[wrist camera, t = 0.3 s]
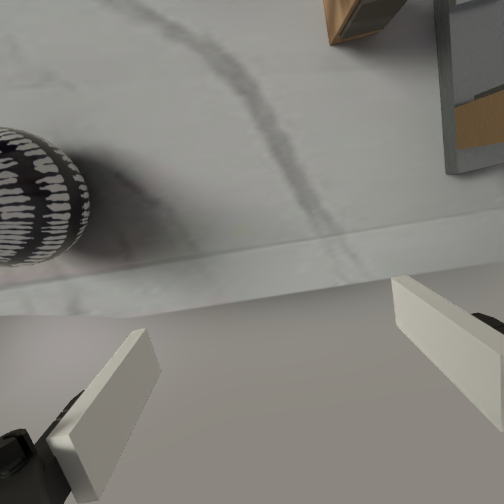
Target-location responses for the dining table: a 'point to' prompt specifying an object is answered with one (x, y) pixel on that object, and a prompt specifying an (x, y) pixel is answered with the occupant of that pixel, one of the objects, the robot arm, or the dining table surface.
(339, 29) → the brown wooden block
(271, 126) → the dining table surface
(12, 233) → the vase
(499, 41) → the rail
